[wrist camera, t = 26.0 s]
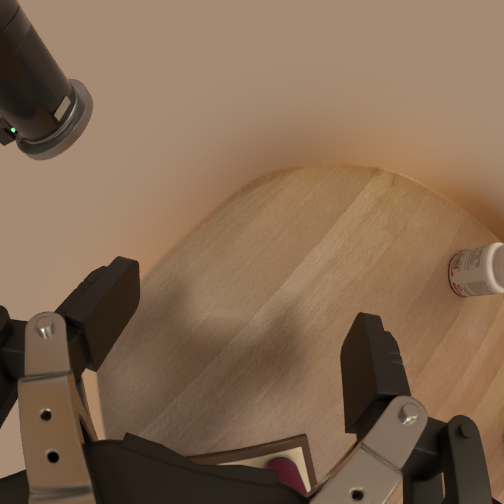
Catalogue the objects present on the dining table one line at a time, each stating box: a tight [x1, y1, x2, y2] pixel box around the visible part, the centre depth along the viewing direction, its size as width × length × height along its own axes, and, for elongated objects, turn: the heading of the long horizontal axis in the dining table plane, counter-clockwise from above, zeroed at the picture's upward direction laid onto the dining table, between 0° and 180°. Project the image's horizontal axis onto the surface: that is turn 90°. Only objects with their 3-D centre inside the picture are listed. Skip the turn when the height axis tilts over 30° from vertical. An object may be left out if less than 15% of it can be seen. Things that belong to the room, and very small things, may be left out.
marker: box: [265, 457, 307, 496], centre depth 17 cm, size 3×3×12 cm
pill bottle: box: [449, 243, 504, 297], centre depth 24 cm, size 5×5×8 cm
